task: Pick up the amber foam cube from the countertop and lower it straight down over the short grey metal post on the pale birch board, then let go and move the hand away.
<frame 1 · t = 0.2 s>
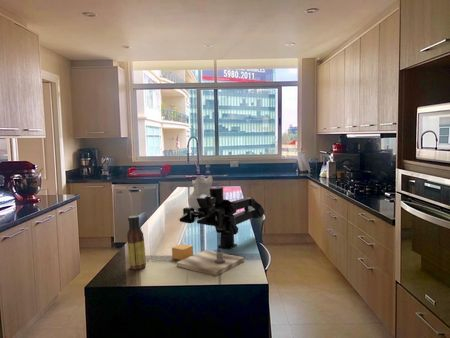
hand: (188, 221, 143), 17 cm above the counter, tool horizontal, fingers open, 9 cm apart
sauce bottle: (137, 268, 140), on the counter
ceramic pitcher: (203, 213, 239), on the counter
amber foam cube: (182, 257, 151), on the counter
birch board: (210, 263, 142), on the counter
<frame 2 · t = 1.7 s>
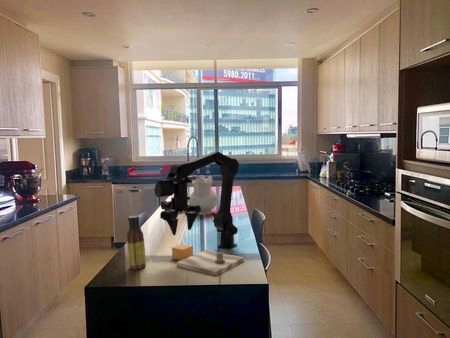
hand: (182, 232, 150), 10 cm above the counter, tool pointing down, fingers open, 9 cm apart
nothing on the counter moved.
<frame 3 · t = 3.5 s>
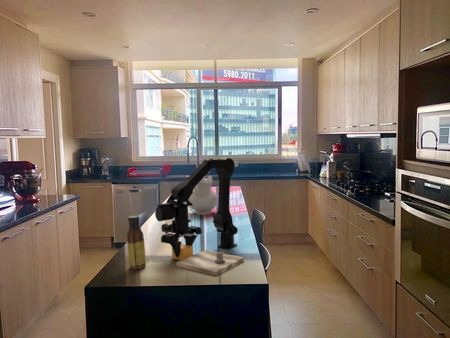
hand: (182, 255, 151), 1 cm above the counter, tool pointing down, fingers closed on amber foam cube, 6 cm apart
amber foam cube: (182, 257, 151), on the counter, touching gripper
everything else where it was.
when the fingers open (3 cm above the counter, at t = 8.3 s): amber foam cube stays where it is, resting on birch board.
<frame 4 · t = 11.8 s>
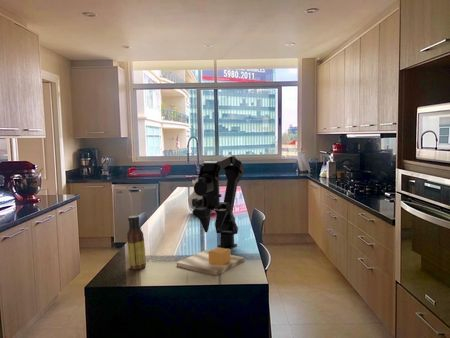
hand: (213, 229, 150), 11 cm above the counter, tool pointing down, fingers open, 9 cm apart
amber foam cube: (219, 261, 139), point 1 cm above the counter, touching birch board
everything else where it was.
at the end: amber foam cube 0.0 cm from the target spot on the birch board, point 1.5 cm above the birch board's base; amber foam cube tilted 0°; the gripper is holding nothing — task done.
